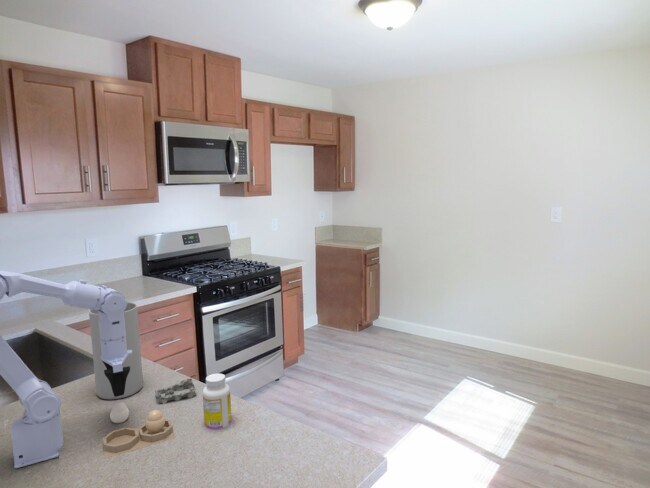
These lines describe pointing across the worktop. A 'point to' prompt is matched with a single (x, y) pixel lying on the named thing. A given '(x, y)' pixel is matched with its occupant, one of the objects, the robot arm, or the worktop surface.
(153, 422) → the brown egg
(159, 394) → the egg carton
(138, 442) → the egg tray
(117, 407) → the cream egg
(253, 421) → the worktop surface
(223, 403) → the supplement bottle
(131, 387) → the cylinder vase
